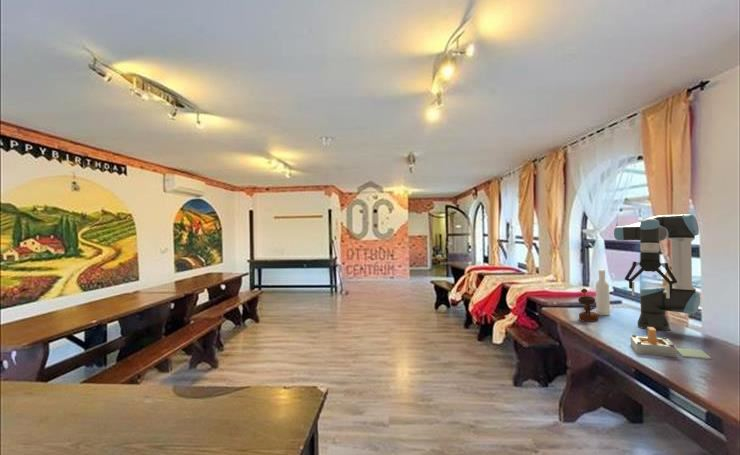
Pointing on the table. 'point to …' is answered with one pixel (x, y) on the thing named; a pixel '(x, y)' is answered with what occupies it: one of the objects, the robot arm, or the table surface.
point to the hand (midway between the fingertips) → (650, 296)
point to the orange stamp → (651, 336)
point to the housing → (653, 346)
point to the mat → (692, 353)
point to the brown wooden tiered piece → (587, 308)
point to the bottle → (602, 295)
